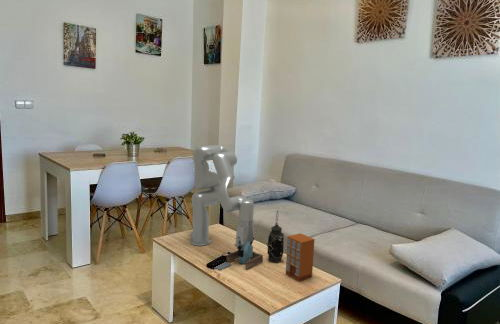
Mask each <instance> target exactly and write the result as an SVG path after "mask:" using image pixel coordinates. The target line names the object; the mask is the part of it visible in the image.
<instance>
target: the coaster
mask: <svg viewBox="0 0 500 324" xmlns="http://www.w3.org/2000/svg"><path fill="white" fill-rule="evenodd" d="M231 266H233V263H231V262H229V263H228V262H226V261H225V262H224V263H222V264H220V265H218V266H216V267H214V268H213V269H215V270H217V269H218V271H222V269H223V270H224V269H225V270H226V269H227V268H229V267H231Z"/></svg>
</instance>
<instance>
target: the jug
mask: <svg viewBox="0 0 500 324" xmlns="http://www.w3.org/2000/svg"><path fill="white" fill-rule="evenodd" d="M240 244H241V242H240ZM241 246H242V245H240V247H241ZM253 252H254V246H253V245H252V246H250V241H248V242H246V244H245V245H244V247H243V257H239V258H238V263H239V264H242V265H246V262H247V261H249V260H250V258H249V257H251V258H252V256H253Z"/></svg>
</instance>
